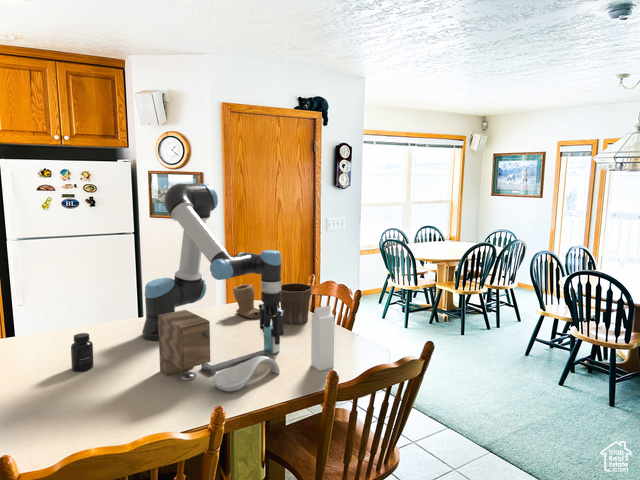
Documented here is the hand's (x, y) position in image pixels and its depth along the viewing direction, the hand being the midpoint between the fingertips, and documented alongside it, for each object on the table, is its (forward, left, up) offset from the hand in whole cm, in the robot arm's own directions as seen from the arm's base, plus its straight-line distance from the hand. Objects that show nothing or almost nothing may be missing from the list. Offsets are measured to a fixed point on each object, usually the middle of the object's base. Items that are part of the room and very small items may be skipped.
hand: (271, 349), depth 178 cm
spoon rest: (+16, -22, -1) cm, 27 cm away
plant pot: (-24, +31, -1) cm, 39 cm away
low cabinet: (-3, -35, -1) cm, 35 cm away
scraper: (0, -13, -1) cm, 13 cm away
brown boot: (-45, +19, -1) cm, 49 cm away
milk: (+23, +5, -1) cm, 24 cm away
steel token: (0, -35, -1) cm, 35 cm away
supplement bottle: (-31, -59, -1) cm, 66 cm away
